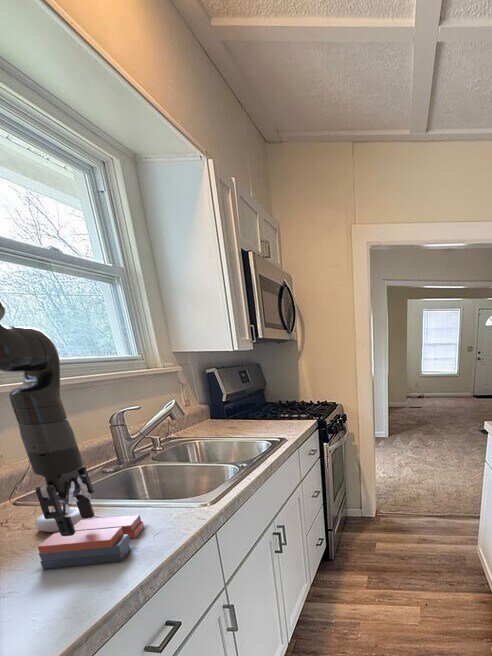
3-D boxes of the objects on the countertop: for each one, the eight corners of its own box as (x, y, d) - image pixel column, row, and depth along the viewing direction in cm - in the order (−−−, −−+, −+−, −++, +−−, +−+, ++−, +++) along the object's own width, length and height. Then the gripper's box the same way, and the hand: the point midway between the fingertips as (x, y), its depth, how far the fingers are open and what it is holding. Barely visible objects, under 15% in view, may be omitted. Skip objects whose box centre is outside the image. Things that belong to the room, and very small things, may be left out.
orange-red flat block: (72, 544, 89) (67, 531, 88) (84, 532, 94) (80, 519, 93) (135, 537, 91) (132, 525, 90) (144, 526, 97) (140, 514, 96)
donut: (27, 533, 94) (63, 535, 92) (22, 520, 93) (58, 522, 91) (65, 516, 103) (99, 518, 102) (61, 504, 102) (95, 506, 100)
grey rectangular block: (42, 569, 79) (36, 553, 77) (56, 556, 84) (51, 541, 82) (123, 561, 82) (118, 545, 80) (132, 548, 87) (128, 534, 85)
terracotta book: (40, 554, 77) (37, 546, 76) (56, 539, 83) (53, 532, 82) (112, 546, 80) (110, 539, 79) (123, 533, 85) (121, 526, 85)
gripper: (48, 439, 79) (74, 514, 85) (3, 457, 66) (37, 544, 73) (91, 436, 81) (113, 510, 87) (55, 453, 68) (84, 539, 74)
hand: (79, 525), depth 80 cm, fingers open, 8 cm apart
